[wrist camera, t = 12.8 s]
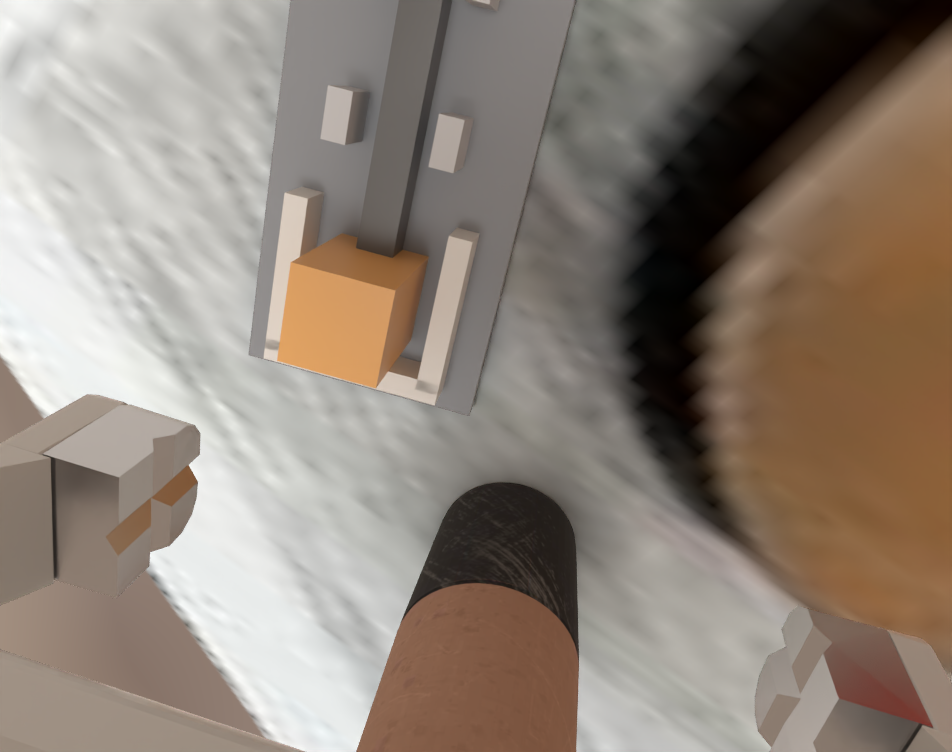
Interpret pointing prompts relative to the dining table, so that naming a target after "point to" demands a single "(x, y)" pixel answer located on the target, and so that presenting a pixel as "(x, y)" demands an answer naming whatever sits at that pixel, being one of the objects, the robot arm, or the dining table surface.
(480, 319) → the clip board
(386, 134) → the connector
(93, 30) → the dining table surface
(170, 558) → the dining table surface
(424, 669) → the travel mug
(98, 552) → the robot arm
